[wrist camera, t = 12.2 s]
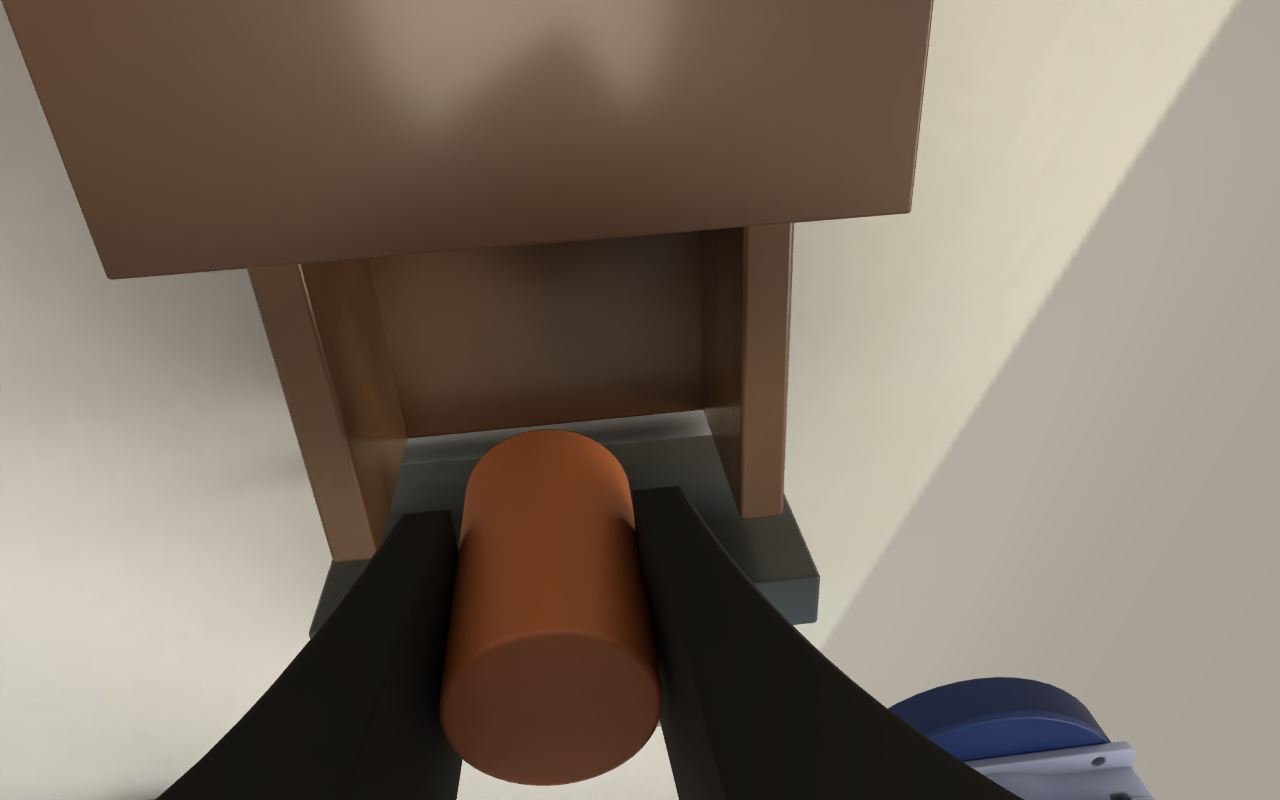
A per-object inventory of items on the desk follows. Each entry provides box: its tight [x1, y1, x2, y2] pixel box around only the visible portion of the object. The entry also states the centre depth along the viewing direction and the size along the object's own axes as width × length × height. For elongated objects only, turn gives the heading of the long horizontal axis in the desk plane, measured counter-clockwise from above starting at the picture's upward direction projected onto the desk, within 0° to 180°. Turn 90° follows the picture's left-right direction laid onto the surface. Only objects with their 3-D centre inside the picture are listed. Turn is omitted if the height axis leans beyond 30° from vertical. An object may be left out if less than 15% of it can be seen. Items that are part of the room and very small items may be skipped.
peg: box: [439, 429, 663, 786], centre depth 11 cm, size 2×2×4 cm
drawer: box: [247, 223, 820, 727], centre depth 17 cm, size 16×9×5 cm, turn 3°
